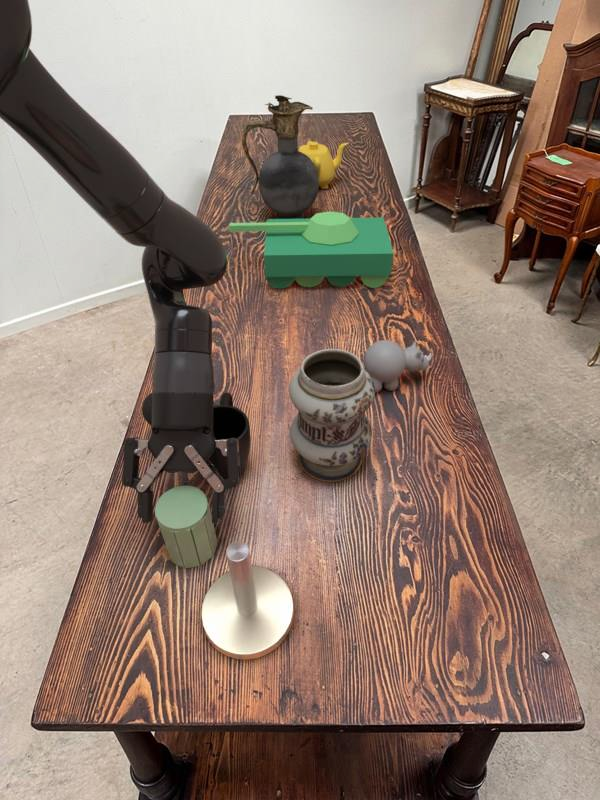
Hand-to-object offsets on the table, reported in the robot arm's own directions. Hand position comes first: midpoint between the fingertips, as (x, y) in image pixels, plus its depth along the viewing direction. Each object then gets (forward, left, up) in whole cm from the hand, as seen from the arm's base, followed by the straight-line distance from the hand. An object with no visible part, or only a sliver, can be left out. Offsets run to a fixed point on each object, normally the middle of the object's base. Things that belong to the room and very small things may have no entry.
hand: (182, 522), depth 66 cm
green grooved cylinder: (+1, +1, -7) cm, 7 cm away
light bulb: (+4, +21, -7) cm, 22 cm away
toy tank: (+49, +58, -7) cm, 76 cm away
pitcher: (+56, +86, -7) cm, 103 cm away
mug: (+11, +13, -7) cm, 18 cm away
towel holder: (+4, -11, -7) cm, 14 cm away
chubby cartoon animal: (+44, +16, -7) cm, 47 cm away
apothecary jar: (+25, +6, -7) cm, 26 cm away
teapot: (+76, +102, -7) cm, 127 cm away
